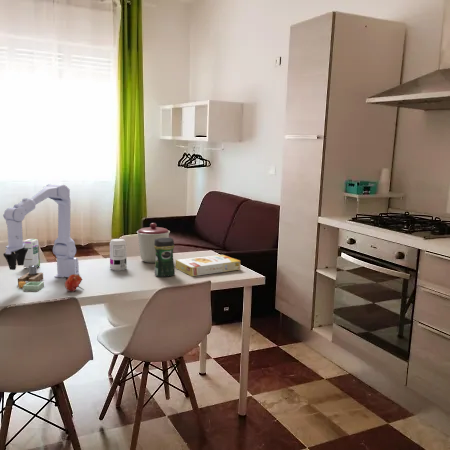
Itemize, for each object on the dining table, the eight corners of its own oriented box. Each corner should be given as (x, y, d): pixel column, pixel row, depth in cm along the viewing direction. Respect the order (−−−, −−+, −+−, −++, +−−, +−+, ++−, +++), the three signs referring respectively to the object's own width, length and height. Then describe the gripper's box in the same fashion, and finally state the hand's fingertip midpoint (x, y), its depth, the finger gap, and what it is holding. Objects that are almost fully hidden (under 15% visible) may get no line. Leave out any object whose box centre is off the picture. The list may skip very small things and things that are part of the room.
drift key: (30, 284, 213) (30, 278, 212) (25, 288, 207) (25, 282, 207) (24, 284, 213) (24, 278, 212) (18, 287, 207) (18, 282, 207)
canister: (172, 263, 256) (172, 225, 252) (138, 265, 251) (137, 226, 248) (167, 256, 273) (167, 220, 270) (135, 258, 268) (135, 221, 265)
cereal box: (241, 260, 243) (191, 266, 229) (241, 270, 244) (191, 277, 230) (221, 253, 261) (174, 258, 247) (221, 263, 261) (174, 269, 247)
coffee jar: (171, 272, 238) (171, 235, 235) (176, 276, 231) (176, 238, 228) (152, 274, 234) (152, 237, 231) (156, 278, 227) (156, 239, 224)
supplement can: (106, 269, 241) (106, 240, 239) (116, 266, 248) (115, 238, 246) (120, 271, 238) (119, 242, 236) (129, 267, 245) (129, 239, 243)
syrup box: (33, 269, 239) (32, 241, 237) (23, 268, 240) (21, 240, 238) (40, 266, 245) (38, 239, 242) (29, 266, 246) (28, 238, 244)
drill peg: (37, 279, 220) (37, 265, 219) (35, 281, 217) (34, 266, 216) (31, 279, 220) (30, 265, 219) (28, 281, 217) (27, 266, 216)
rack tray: (44, 286, 210) (43, 281, 209) (38, 290, 203) (38, 285, 203) (29, 286, 210) (29, 281, 209) (23, 290, 203) (23, 285, 203)
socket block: (43, 279, 222) (42, 272, 221) (33, 285, 211) (33, 279, 210) (28, 278, 222) (27, 272, 221) (18, 285, 211) (17, 278, 210)
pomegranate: (81, 292, 209) (62, 279, 207) (90, 280, 208) (71, 267, 206) (76, 299, 202) (57, 286, 200) (86, 286, 201) (66, 273, 199)
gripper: (13, 232, 208) (15, 263, 210) (-3, 238, 193) (-1, 271, 195) (29, 233, 207) (31, 263, 210) (14, 239, 193) (16, 271, 195)
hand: (16, 267), depth 202 cm, fingers open, 7 cm apart
